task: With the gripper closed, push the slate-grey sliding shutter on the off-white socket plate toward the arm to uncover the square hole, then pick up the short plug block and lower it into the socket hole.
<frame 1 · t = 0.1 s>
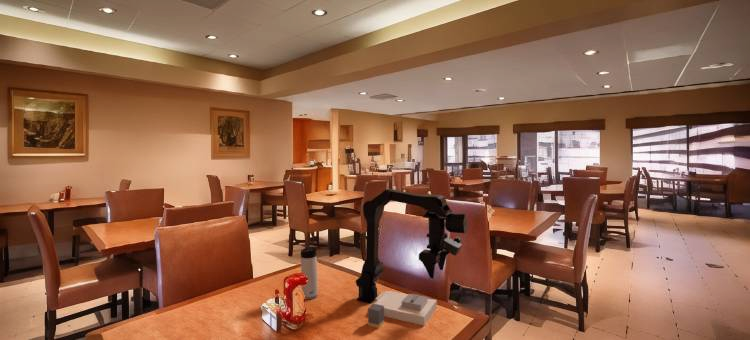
hand: (436, 274, 122), 15 cm above the table, fingers open, 9 cm apart
plug: (376, 324, 117), on the table
travel mug: (310, 296, 139), on the table
shutter: (414, 300, 124), point 4 cm above the table, slide at 0.0 cm
socket: (409, 311, 125), on the table
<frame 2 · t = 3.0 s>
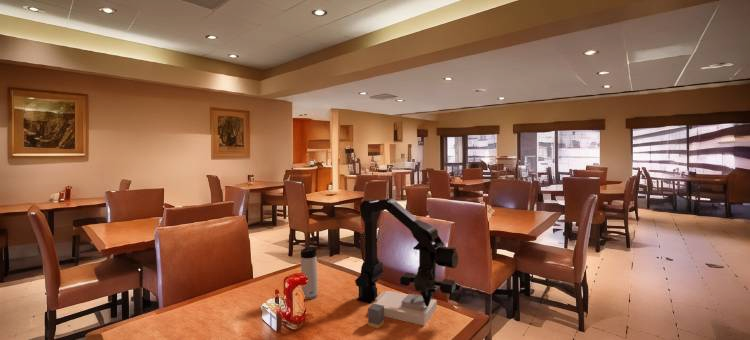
hand: (427, 306, 122), 3 cm above the table, fingers closed
shutter: (414, 300, 124), point 4 cm above the table, slide at 0.0 cm, touching gripper
everything else where it was.
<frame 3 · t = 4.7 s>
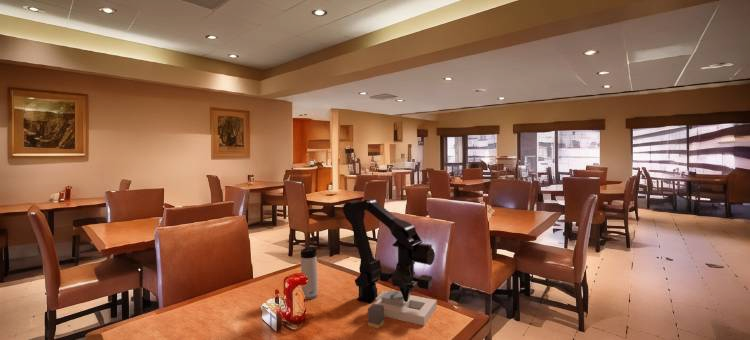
hand: (406, 301, 125), 4 cm above the table, fingers closed
shutter: (394, 296, 127), point 4 cm above the table, slide at 8.0 cm, touching gripper
everything else where it was.
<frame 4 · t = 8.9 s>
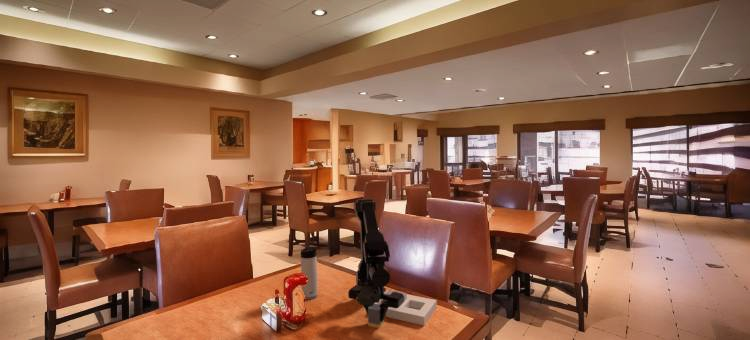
hand: (376, 320, 117), 1 cm above the table, fingers closed on plug, 4 cm apart
plug: (376, 324, 117), on the table, touching gripper
shutter: (394, 296, 127), point 4 cm above the table, slide at 8.1 cm
everything else where it was.
when the fingers open (3 cm above the table, at t = 13.0 s): plug drops 2 cm, resting on socket.
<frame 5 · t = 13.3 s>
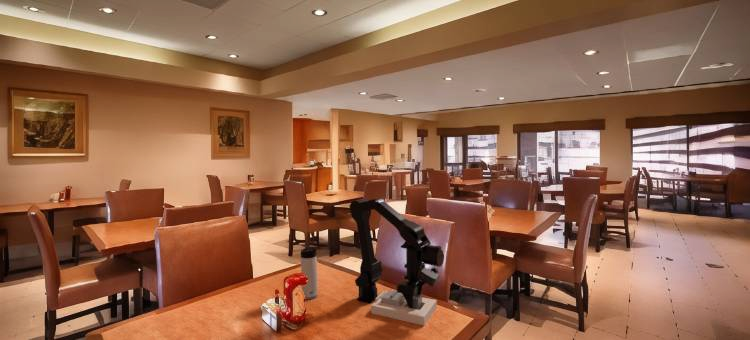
hand: (414, 303, 124), 3 cm above the table, fingers open, 7 cm apart
plug: (414, 312, 124), resting on socket
everything else where it was.
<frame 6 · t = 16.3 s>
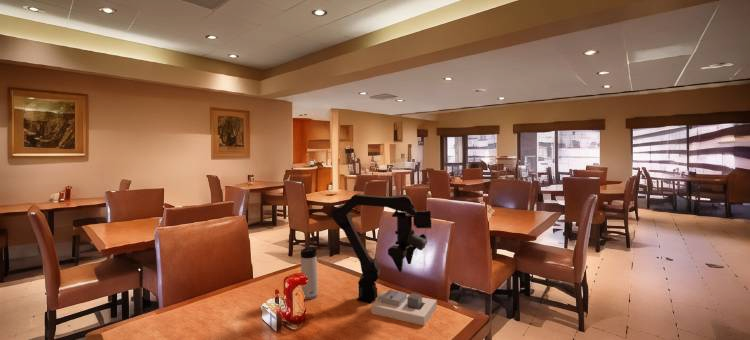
hand: (404, 267, 133), 13 cm above the table, fingers open, 9 cm apart
nothing on the table moved.
at the end: shutter slide at 8.1 cm; plug 0.1 cm from the target spot on the socket, point 0.2 cm above the socket's base; plug tilted 0° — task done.
